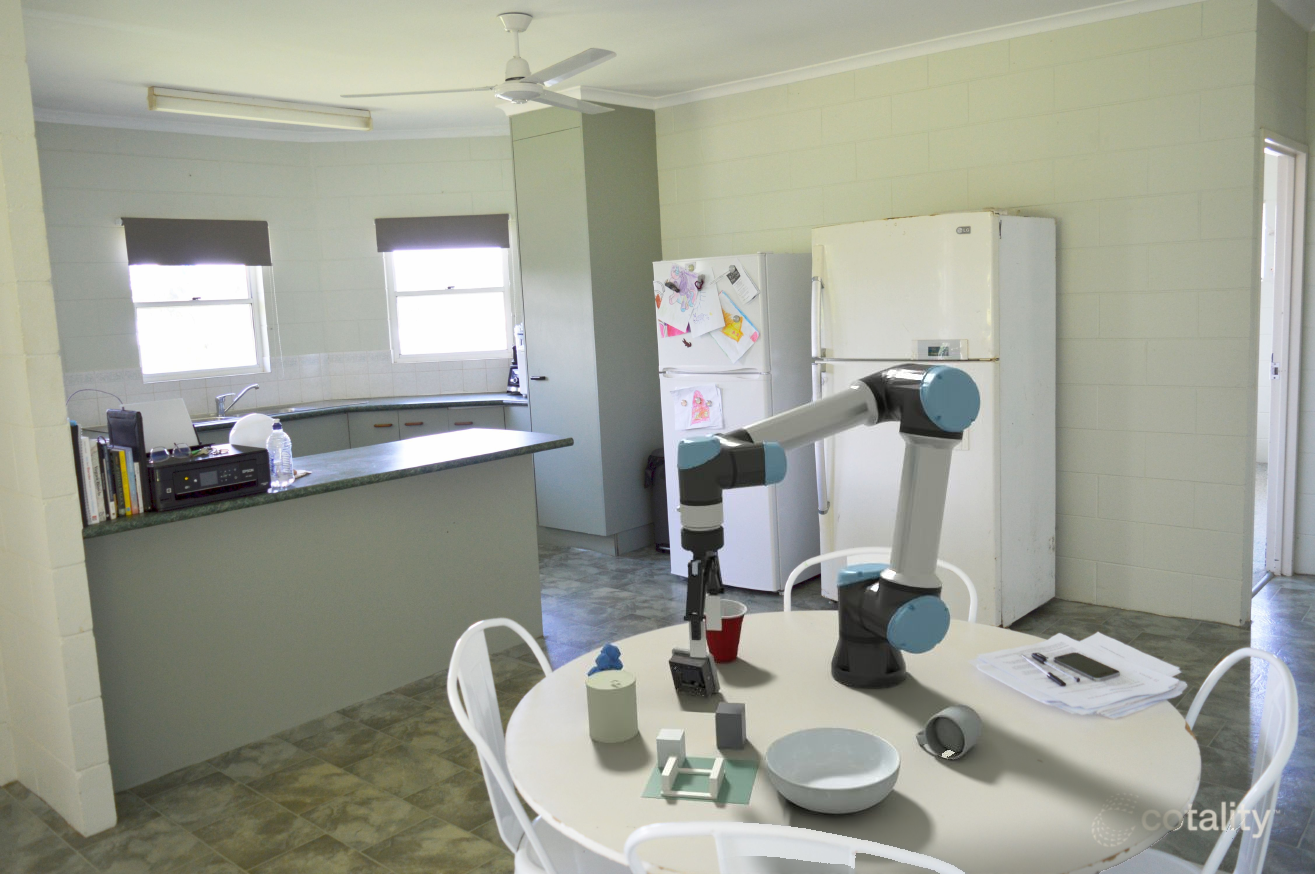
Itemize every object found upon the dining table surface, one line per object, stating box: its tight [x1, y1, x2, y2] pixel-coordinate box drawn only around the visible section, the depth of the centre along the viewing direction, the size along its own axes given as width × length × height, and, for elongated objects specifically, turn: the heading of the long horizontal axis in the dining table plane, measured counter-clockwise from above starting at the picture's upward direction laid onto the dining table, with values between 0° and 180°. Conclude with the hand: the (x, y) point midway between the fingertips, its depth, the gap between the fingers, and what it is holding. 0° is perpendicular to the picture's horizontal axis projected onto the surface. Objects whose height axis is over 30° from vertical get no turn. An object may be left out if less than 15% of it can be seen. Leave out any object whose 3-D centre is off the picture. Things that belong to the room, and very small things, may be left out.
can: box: [585, 669, 639, 744], centre depth 176 cm, size 9×9×12 cm
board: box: [640, 755, 760, 805], centre depth 158 cm, size 17×14×4 cm
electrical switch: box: [668, 646, 721, 699], centre depth 195 cm, size 9×5×9 cm, turn 57°
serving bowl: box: [764, 726, 902, 814], centre depth 153 cm, size 21×21×7 cm
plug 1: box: [655, 728, 687, 768], centre depth 163 cm, size 4×4×5 cm
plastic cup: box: [704, 599, 748, 664], centre depth 212 cm, size 11×11×12 cm
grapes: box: [587, 643, 624, 678], centre depth 192 cm, size 12×7×12 cm, turn 161°
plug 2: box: [714, 701, 747, 751], centre depth 169 cm, size 5×4×8 cm
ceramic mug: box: [915, 704, 984, 761], centre depth 167 cm, size 11×8×8 cm
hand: (706, 642), depth 172 cm, fingers open, 13 cm apart
